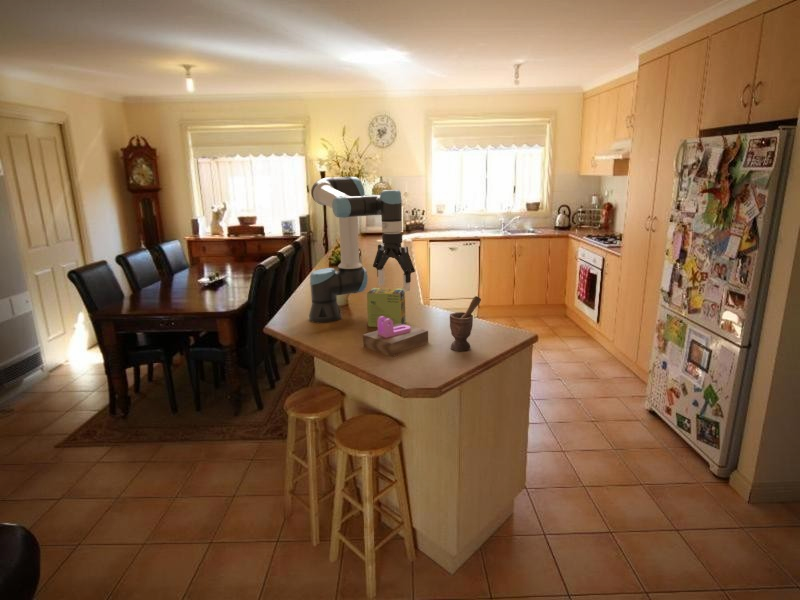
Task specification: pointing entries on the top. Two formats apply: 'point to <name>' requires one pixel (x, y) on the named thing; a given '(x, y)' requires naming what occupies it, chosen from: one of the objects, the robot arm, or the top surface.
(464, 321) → the mortar and pestle
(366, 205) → the robot arm
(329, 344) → the top surface
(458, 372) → the top surface
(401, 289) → the protein box
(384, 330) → the bracket
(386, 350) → the walnut block
